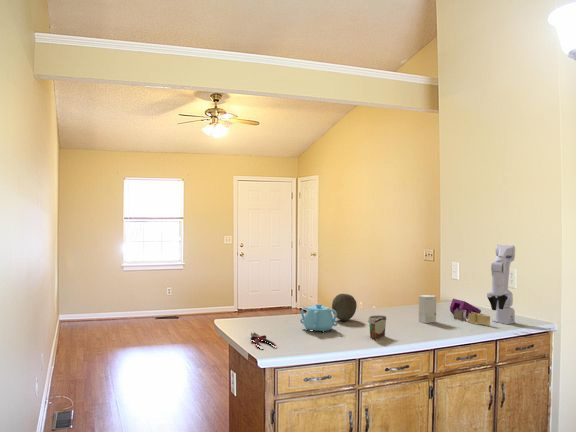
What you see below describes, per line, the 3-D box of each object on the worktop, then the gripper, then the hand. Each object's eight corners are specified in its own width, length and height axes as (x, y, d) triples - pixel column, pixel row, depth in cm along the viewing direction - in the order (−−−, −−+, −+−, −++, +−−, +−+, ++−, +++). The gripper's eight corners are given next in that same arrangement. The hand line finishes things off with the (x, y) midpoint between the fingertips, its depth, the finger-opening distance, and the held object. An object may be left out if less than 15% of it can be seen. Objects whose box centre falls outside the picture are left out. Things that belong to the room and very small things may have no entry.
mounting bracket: (468, 321, 302) (448, 311, 295) (472, 309, 303) (452, 298, 296) (479, 325, 293) (459, 314, 286) (484, 312, 295) (464, 301, 288)
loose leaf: (491, 324, 267) (491, 315, 267) (486, 326, 264) (486, 316, 264) (473, 321, 276) (473, 312, 276) (468, 322, 273) (468, 313, 273)
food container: (375, 333, 248) (375, 314, 248) (386, 335, 244) (386, 315, 244) (363, 338, 238) (363, 318, 238) (374, 340, 234) (374, 320, 234)
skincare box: (425, 323, 270) (425, 297, 270) (417, 321, 276) (418, 295, 276) (436, 322, 274) (437, 295, 274) (429, 319, 280) (429, 294, 279)
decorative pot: (325, 325, 265) (325, 300, 265) (339, 331, 251) (339, 305, 250) (298, 327, 259) (298, 302, 259) (311, 334, 244) (311, 307, 244)
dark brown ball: (357, 323, 270) (358, 296, 270) (332, 322, 270) (332, 296, 270) (355, 317, 284) (355, 292, 284) (330, 317, 284) (331, 291, 284)
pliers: (278, 344, 221) (260, 329, 241) (260, 346, 217) (244, 331, 237) (277, 350, 221) (260, 335, 241) (260, 352, 217) (244, 337, 237)
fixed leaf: (466, 320, 278) (466, 310, 278) (464, 321, 277) (464, 310, 277) (456, 318, 284) (456, 308, 284) (453, 318, 283) (454, 308, 283)
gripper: (500, 282, 268) (500, 307, 269) (482, 284, 262) (482, 309, 262) (511, 284, 262) (511, 309, 262) (493, 286, 255) (492, 311, 256)
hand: (497, 309), depth 262 cm, fingers open, 5 cm apart
